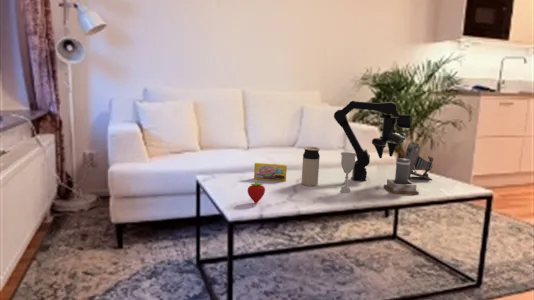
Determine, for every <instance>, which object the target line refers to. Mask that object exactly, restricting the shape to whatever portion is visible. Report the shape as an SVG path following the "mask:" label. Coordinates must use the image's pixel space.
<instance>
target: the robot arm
mask: <svg viewBox="0 0 534 300" xmlns="http://www.w3.org/2000/svg"><path fill="white" fill-rule="evenodd" d="M355 109H356V110H364V111H365V110H366V111H376V112H380V113H382V114H381V115H380V116H379V118H381V119H383V120H382V121H383V122H382V128H380V131H381V136H379V137H375V138H373V139H372V140H371V144H372V145H373V146H374V148H375V150H376V153H377V155H378V157H379V159H382V158H383V155H384V154H383V153H384V149H385V148H386V147H388V149H387V150H388V153H389V154H388V155H389V157H393V155H394V153H395V150H396V148H397V147H398V146H399V145H401V144H403V143H404V141H405V140H406V133H404V132H401V133H397V129H395V128H396V127H395V126H397V128H398V129H399V128H400V129H411V116H412V115H411V114H400V113H399V112H398V111H397V105H396V103H394V102H393V101H386V102H370V101H369V102H367V101H358V100H351V101H349V103H348V104H346V106H344V107H343V108H342V109H337V110H336V111H335V112H334V114H333V118H334V120H335V121H336V123H337V124H338V125H339V126H340V128H341V129H342V130H343V131H344V133H345V136H346V137H347V140H348V141H349V143H350V145H351V147H352V148H353V150H354V153H356V154H357V155H356V156H355V158H356V160H355V165H354V167H353V169H352V171H351V172H352V175H351V177H350V178H351V179H352V180H353V181H357V182H358V181H359V182H361V181H362V182H366V181H367V177H368V176H367V173H368V172H367V168H366V167H367V166H369V164H370V161H371V160H370V159H371V155H370V154H369V152H368V150H367V149H363V147H362V146H361V144H360V142H359V140H358V138H357V136H356V135H355V132H354V131H353V129H352V127H351V125H350V122H349V118H348V114H349V113H350V112H352V111H353V110H355ZM386 144H387V145H386Z"/></svg>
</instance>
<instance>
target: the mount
mask: <svg viewBox="0 0 534 300" xmlns="http://www.w3.org/2000/svg"><path fill="white" fill-rule="evenodd" d="M383 187H384V188H385V190H387V191H389V193H391V194H392V195H419V194H420V191H418V190H417V184H416V183H414V182H412V180H411V181H410V179H408V184H396V183H395V179H394V178H393V179H392V178H387V179H386V184H385V183H384V184H383Z"/></svg>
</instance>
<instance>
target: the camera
mask: <svg viewBox="0 0 534 300" xmlns="http://www.w3.org/2000/svg"><path fill="white" fill-rule="evenodd" d="M420 150H421V148H420V145H419V143H418V142H415V141H414V140H413V141H412V140H411V142H410V143H408V145H407V148H406V150H405V153H404V156H403V158H404V159H409V160H410V167H409V176H408V179H410V177H411V175H412V176H416V177H420V178H423V179H426V180H430V181H433V179H432V178H431V177H430V176H429V174H428V172H429V171H431V170H432V169H433V165H434V164H433V162H434V157H432V156H429V155H428V156H427V159H428V161H427V160H426V159H424V158H423V157H421V156H420V155H419V153H420ZM417 171H424V172H423V174H422V173H418V172H417Z"/></svg>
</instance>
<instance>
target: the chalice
mask: <svg viewBox="0 0 534 300" xmlns="http://www.w3.org/2000/svg"><path fill="white" fill-rule="evenodd" d="M340 155H341V162H340V165H341V169H342V170H343V173H344V174H345V177H344V178H345V180H344V182H345V183H344V185H343V186H342V187H341V189H340V191H339V192H341V193H344V194H351V193H352V190H351V187H350V186H349V185H348V183H349V174H350V173H351V172H353V167H354V165H355V161H356V155H357V154H356V153H355V152H349V151H343V152H340Z"/></svg>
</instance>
